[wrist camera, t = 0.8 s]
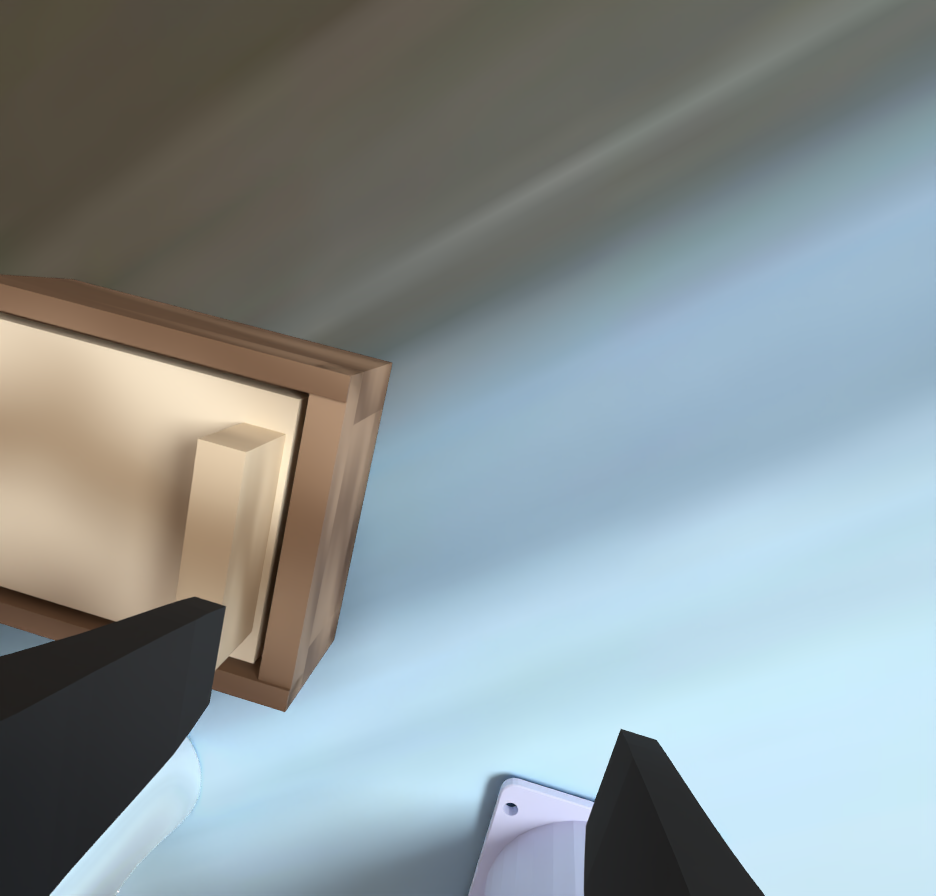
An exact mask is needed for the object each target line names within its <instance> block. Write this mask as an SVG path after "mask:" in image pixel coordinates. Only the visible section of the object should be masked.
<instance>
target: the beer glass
mask: <svg viewBox="0 0 936 896" xmlns="http://www.w3.org/2000/svg"><path fill="white" fill-rule="evenodd" d="M200 790H201V768H200V763H199V760H198V757H197V754H196V751H195V749H194V747H193V745H192V743H191V741H190V740H189V738H188V737H186V738H185V740H184V741H183V742H182V744H181V745H180V747H179V748H178V749H177V751H176V752H175V753H174V755H173V756H172V757H171V758H170V759H169V760H168V762H167V763H166V764H165V765H164V766H163V767H162V768H161V770H160V771H159V772H158V773H157V774H156V775H155V776H154V778H153V779H152V780H151V781H150V782H149V783H148V784H147V785H146V787H145V788H144V789H143V790H142V791H141V792H140V793H139V795H138V796H137V797H136V798H135V799H134V800H133V801H132V802H131V803H130V805H129V806H128V807H127V808H126V809H125V810H124V811H123V812H122V813H121V815H120V816H119V817H118V818H117V819H116V820H115V821H114V822H113V823H112V825H111V826H110V827H109V828H108V829H107V830H106V831H105V832H104V834H103V835H102V836H101V837H100V838H99V839H98V840H97V841H96V842H95V844H94V845H93V846H92V847H91V848H90V849H89V850H88V851H87V852H86V854H85V855H84V856H83V857H82V858H81V859H80V860H79V861H78V863H77V864H76V865H75V866H74V867H73V868H72V869H71V870H70V872H69V873H68V874H67V875H66V876H65V878H64V879H63V880H62V881H61V882H60V884H59V885H58V886H57V887H56V888H55V890H54V891H53V892H52V893H51V894H50V896H116V894H117V893H118V892H120V891H119V890H120V888H121V887H122V885H123V884H124V882H125V881H126V880H127V879H128V877H129V876H130V875H131V874H132V872H133V871H134V870H135V869H136V867H137V866H138V865H139V864H140V863H141V862H142V861H143V860H144V859H145V857H146V856H147V855H148V854H149V853H150V852H151V851H152V850H153V849H155V848H156V847H157V846H158V845H159V844H160V843H161V842H162V841H163V840H164V839H165V838H166V837H167V836H168V835H170V834H171V833H172V832H173V831H174V830H175V829H176V828H177V827H178V826H179V825H180V824H181V823H182V822H183V821H184V820H185V819H186V818H187V816H188V815H189V814H190V813H191V811H192V810H193V808H194V806H195V804H196V802H197V800H198V797H199V794H200Z"/></svg>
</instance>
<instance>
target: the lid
mask: <svg viewBox="0 0 936 896" xmlns="http://www.w3.org/2000/svg"><path fill="white" fill-rule="evenodd" d="M308 399H309V395H307V394H304V393H300V392H296V391H293V390H289V389H285V388H281V387H278V386H274V385H270V384H266V383H263V382H259V381H255V380H252V379H248V378H244V377H240V376H237V375H233V374H229V373H225V372H222V371H218V370H214V369H211V368H207V367H203V366H199V365H196V364H192V363H188V362H184V361H181V360H177V359H173V358H170V357H166V356H162V355H158V354H155V353H151V352H147V351H143V350H140V349H136V348H132V347H129V346H125V345H121V344H117V343H114V342H110V341H106V340H102V339H99V338H95V337H91V336H88V335H84V334H80V333H76V332H73V331H69V330H65V329H61V328H58V327H54V326H50V325H47V324H43V323H39V322H35V321H32V320H28V319H24V318H20V317H17V316H13V315H9V314H6V313H2V312H0V586H2V587H5V588H8V589H11V590H15V591H18V592H21V593H25V594H28V595H31V596H34V597H38V598H41V599H44V600H47V601H51V602H54V603H57V604H60V605H64V606H67V607H70V608H73V609H77V610H80V611H83V612H86V613H90V614H93V615H96V616H99V617H103V618H106V619H109V620H112V621H119V620H122V619H125V618H128V617H131V616H134V615H137V614H140V613H143V612H146V611H149V610H152V609H155V608H158V607H161V606H164V605H167V604H170V603H173V602H176V601H180V600H183V599H187V598H191V597H198V598H201V599H205V600H208V601H211V602H214V603H217V604H221V605H224V606H226V610H225V616H224V622H223V627H222V633H221V639H220V645H219V651H218V656H217V662H216V668H215V670H216V669H217V668H218V667H219V666H220V665H221V664H222V663H223V662H224V661H225V660H226V659H227V658H228V657H229V656H230V657H233V658H236V659H240V660H243V661H246V662H249V663H254V662H255V661H256V660H257V659H258V658H259V656H260V655H261V654H262V653H263V649H264V644H265V638H266V633H267V627H268V621H269V616H270V610H271V605H272V599H273V594H274V588H275V583H276V577H277V571H278V566H279V560H280V555H281V549H282V544H283V538H284V533H285V527H286V521H287V516H288V510H289V505H290V499H291V494H292V488H293V483H294V477H295V471H296V466H297V460H298V455H299V449H300V444H301V438H302V433H303V427H304V421H305V416H306V410H307V405H308Z"/></svg>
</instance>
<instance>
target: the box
mask: <svg viewBox="0 0 936 896" xmlns="http://www.w3.org/2000/svg"><path fill="white" fill-rule="evenodd" d="M0 312H2V313H6V314H9V315H13V316H17V317H20V318H24V319H28V320H32V321H35V322H39V323H43V324H47V325H50V326H54V327H58V328H61V329H65V330H69V331H73V332H76V333H80V334H84V335H88V336H91V337H95V338H99V339H102V340H106V341H110V342H114V343H117V344H121V345H125V346H129V347H132V348H136V349H140V350H143V351H147V352H151V353H155V354H158V355H162V356H166V357H170V358H173V359H177V360H181V361H184V362H188V363H192V364H196V365H199V366H203V367H207V368H211V369H214V370H218V371H222V372H225V373H229V374H233V375H237V376H240V377H244V378H248V379H252V380H255V381H259V382H263V383H266V384H270V385H274V386H278V387H281V388H285V389H289V390H293V391H296V392H300V393H304V394H307V395H309V399H308V405H307V410H306V416H305V421H304V427H303V433H302V438H301V444H300V449H299V455H298V460H297V466H296V471H295V477H294V483H293V488H292V494H291V499H290V505H289V510H288V516H287V521H286V527H285V533H284V538H283V544H282V549H281V555H280V560H279V566H278V571H277V577H276V583H275V588H274V594H273V599H272V605H271V610H270V616H269V621H268V627H267V633H266V638H265V644H264V649H263V653H262V654H261V655H260V656H259V658H258V659H257V660H256V661H255V662H254V663H249V662H246V661H243V660H240V659H236V658H233V657H230V656H229V657H228V658H227V659H226V660H225V661H224V662H223V663H222V664H221V665H220V666H219V667H218V668H217V669H216V670H215V674H214V680H213V685H212V689H213V690H216V691H219V692H222V693H226V694H229V695H232V696H235V697H238V698H242V699H245V700H248V701H251V702H255V703H258V704H261V705H264V706H267V707H271V708H274V709H277V710H280V711H283V712H286V710H287V709H288V707H289V706H290V704H291V703H292V701H293V700H294V698H295V697H296V695H297V694H298V692H299V691H300V689H301V688H302V686H303V685H304V684H305V682H306V681H307V679H308V678H309V676H310V675H311V673H312V672H313V670H314V669H315V667H316V666H317V664H318V663H319V661H320V660H321V658H322V657H323V655H324V654H325V652H326V651H327V650H328V648H329V647H330V645H331V644H332V642H333V641H334V638H335V633H336V628H337V624H338V619H339V614H340V609H341V605H342V600H343V595H344V590H345V586H346V581H347V576H348V571H349V567H350V562H351V557H352V552H353V548H354V543H355V538H356V533H357V529H358V524H359V519H360V514H361V510H362V505H363V500H364V495H365V491H366V486H367V481H368V476H369V472H370V467H371V462H372V457H373V453H374V448H375V443H376V438H377V434H378V429H379V424H380V419H381V415H382V410H383V405H384V400H385V396H386V391H387V386H388V381H389V377H390V372H391V367H392V363H391V362H387V361H384V360H380V359H376V358H372V357H368V356H364V355H361V354H357V353H353V352H349V351H345V350H341V349H338V348H334V347H330V346H326V345H322V344H318V343H315V342H311V341H307V340H303V339H299V338H295V337H292V336H288V335H284V334H280V333H276V332H273V331H269V330H265V329H261V328H257V327H253V326H250V325H246V324H242V323H238V322H234V321H230V320H227V319H223V318H219V317H215V316H211V315H207V314H204V313H200V312H196V311H192V310H188V309H184V308H181V307H177V306H173V305H169V304H165V303H161V302H158V301H154V300H150V299H146V298H142V297H138V296H135V295H131V294H127V293H123V292H119V291H115V290H112V289H108V288H104V287H100V286H96V285H92V284H89V283H85V282H81V281H77V280H73V279H60V278H45V277H29V276H14V275H0ZM113 622H116V621H112V620H109V619H106V618H103V617H99V616H96V615H93V614H90V613H86V612H83V611H80V610H77V609H73V608H70V607H67V606H64V605H60V604H57V603H54V602H51V601H47V600H44V599H41V598H38V597H34V596H31V595H28V594H25V593H21V592H18V591H15V590H11V589H8V588H5V587H2V586H0V623H1V624H5V625H8V626H11V627H14V628H17V629H21V630H24V631H27V632H30V633H33V634H37V635H40V636H43V637H46V638H49V639H53V640H60V639H63V638H66V637H70V636H73V635H77V634H80V633H83V632H86V631H89V630H92V629H95V628H98V627H101V626H104V625H107V624H110V623H113Z"/></svg>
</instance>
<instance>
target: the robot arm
mask: <svg viewBox="0 0 936 896" xmlns="http://www.w3.org/2000/svg"><path fill="white" fill-rule="evenodd" d="M225 610H226V606H224V605H221V604H217V603H214V602H211V601H208V600H205V599H201V598H198V597H191V598H187V599H183V600H180V601H176V602H173V603H170V604H167V605H164V606H161V607H158V608H155V609H152V610H149V611H146V612H143V613H140V614H137V615H134V616H131V617H128V618H125V619H122V620H119V621H116V622H113V623H110V624H107V625H104V626H101V627H98V628H95V629H92V630H89V631H86V632H83V633H80V634H77V635H73V636H70V637H66V638H63V639H60V640H56V641H53V642H49V643H46V644H43V645H39V646H36V647H32V648H29V649H26V650H22V651H19V652H15V653H12V654H8V655H4V656H0V896H50V894H51V893H52V892H53V891H54V890H55V888H56V887H57V886H58V885H59V884H60V882H61V881H62V880H63V879H64V878H65V876H66V875H67V874H68V873H69V872H70V870H71V869H72V868H73V867H74V866H75V865H76V864H77V863H78V861H79V860H80V859H81V858H82V857H83V856H84V855H85V854H86V852H87V851H88V850H89V849H90V848H91V847H92V846H93V845H94V844H95V842H96V841H97V840H98V839H99V838H100V837H101V836H102V835H103V834H104V832H105V831H106V830H107V829H108V828H109V827H110V826H111V825H112V823H113V822H114V821H115V820H116V819H117V818H118V817H119V816H120V815H121V813H122V812H123V811H124V810H125V809H126V808H127V807H128V806H129V805H130V803H131V802H132V801H133V800H134V799H135V798H136V797H137V796H138V795H139V793H140V792H141V791H142V790H143V789H144V788H145V787H146V785H147V784H148V783H149V782H150V781H151V780H152V779H153V778H154V776H155V775H156V774H157V773H158V772H159V771H160V770H161V768H162V767H163V766H164V765H165V764H166V763H167V762H168V760H169V759H170V758H171V757H172V756H173V755H174V753H175V752H176V751H177V749H178V748H179V747H180V745H181V744H182V742H183V741H184V740H185V738H186V737H187V735H188V734H189V733H190V731H191V730H192V728H193V727H194V725H195V724H196V722H197V721H198V719H199V718H200V716H201V715H202V713H203V712H204V711H205V709H206V708H207V706H208V705H209V703H210V697H211V691H212V685H213V680H214V674H215V668H216V662H217V656H218V651H219V645H220V639H221V633H222V627H223V622H224V616H225ZM507 803H513V804H515V805H516V806H515V807H509V806H508V805H506V804H507ZM468 896H765V895H764V894H763V892H762V891H761V890H760V888H759V887H758V886H757V885H756V883H755V882H754V881H753V879H752V878H751V877H750V875H749V874H748V873H747V871H746V870H745V869H744V867H743V866H742V865H741V863H740V862H739V860H738V859H737V858H736V856H735V855H734V854H733V852H732V851H731V849H730V848H729V847H728V845H727V844H726V842H725V841H724V840H723V838H722V837H721V835H720V834H719V832H718V831H717V829H716V828H715V827H714V825H713V824H712V822H711V821H710V819H709V818H708V816H707V815H706V813H705V812H704V810H703V809H702V807H701V806H700V804H699V803H698V801H697V800H696V798H695V797H694V795H693V794H692V792H691V791H690V789H689V788H688V786H687V785H686V783H685V782H684V780H683V779H682V777H681V776H680V774H679V773H678V771H677V770H676V768H675V767H674V765H673V764H672V762H671V760H670V759H669V757H668V756H667V754H666V753H665V752H664V750H663V749H662V747H661V746H660V744H659V743H658V742H657V740H655V739H651V738H648V737H645V736H642V735H639V734H635V733H632V732H629V731H626V730H623V729H621V730H620V733H619V735H618V738H617V741H616V744H615V746H614V749H613V752H612V755H611V758H610V760H609V763H608V766H607V769H606V771H605V774H604V777H603V780H602V782H601V785H600V788H599V791H598V793H597V796H596V799H595V802H592V801H589V800H586V799H582V798H579V797H576V796H573V795H570V794H566V793H563V792H560V791H557V790H554V789H550V788H547V787H544V786H541V785H537V784H534V783H531V782H528V781H525V780H521V779H518V778H510V779H507V780H505V781H504V782H503V784H502V785H501V788H500V791H499V795H498V798H497V801H496V805H495V808H494V811H493V814H492V818H491V821H490V824H489V828H488V831H487V834H486V837H485V841H484V844H483V847H482V851H481V854H480V857H479V861H478V864H477V867H476V870H475V874H474V877H473V880H472V884H471V887H470V890H469V893H468Z"/></svg>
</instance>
